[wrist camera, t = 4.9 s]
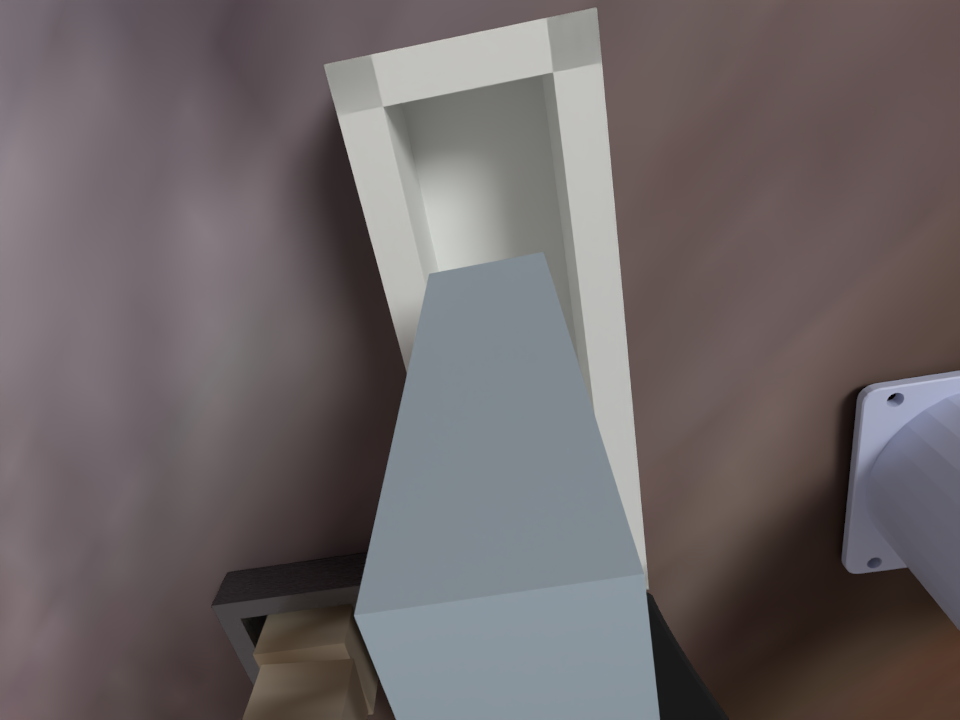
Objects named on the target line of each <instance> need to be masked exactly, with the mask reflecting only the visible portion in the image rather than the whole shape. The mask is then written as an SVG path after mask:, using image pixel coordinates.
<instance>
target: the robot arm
mask: <svg viewBox="0 0 960 720" xmlns="http://www.w3.org/2000/svg"><path fill="white" fill-rule="evenodd" d="M894 393H896V396H895V397H894V398H893V399H891V400H888V401H887V399H888V397H890V396H891V395H892V394H894ZM841 560H842V564H843V565H844V567H845V568H846V569H847V570H848V572H850V573H853V574H861V573H868V572H876V571H884V570H892V569H899V568H907V567H908V568H909V569H910V571H911V572H912V573H913V574H914V576H915V577H916V578H917V579H918V580H919V582H920V583H921V584H922V585H923V587H924V588H925V589H926V590H927V591H928V593H929V594H930V595H931V596H932V598H933V599H934V600H935V601H936V602H937V604H938V605H939V606H940V607H941V609H942V610H943V611H944V612H945V613H946V615H947V616H948V617H949V618H950V620H951V621H952V622H953V623H954V624H955V626H956V627H957V628H958V629H959V631H960V371H953V372H947V373H940V374H934V375H927V376H921V377H914V378H908V379H901V380H895V381H888V382H882V383H875V384H872V385H868V386H867V387H865V388H864V389H862V391H861V392H860V393H859V395H858V398H857V404H856V414H855V425H854V435H853V445H852V456H851V466H850V476H849V487H848V497H847V507H846V518H845V528H844V538H843V549H842V559H841ZM646 595H647V605H648V614H649V623H650V632H651V642H652V651H653V660H654V669H655V678H656V688H657V697H658V706H659V715H660V720H729V719H728V717H727V716H726V714H725V713H724V711H723V710H722V709H721V707H720V706H719V704H718V703H717V702H716V700H715V699H714V697H713V696H712V694H711V693H710V692H709V690H708V689H707V687H706V686H705V685H704V683H703V682H702V680H701V679H700V677H699V676H698V674H697V673H696V671H695V670H694V668H693V666H692V665H691V663H690V662H689V660H688V659H687V657H686V655H685V654H684V652H683V651H682V649H681V647H680V646H679V644H678V643H677V641H676V639H675V637H674V636H673V634H672V632H671V631H670V629H669V627H668V625H667V624H666V622H665V620H664V618H663V616H662V614H661V612H660V610H659V608H658V606H657V604H656V602H655V600H654V598H653V596H652V595H651V594H649V593H648V592H646Z"/></svg>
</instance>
